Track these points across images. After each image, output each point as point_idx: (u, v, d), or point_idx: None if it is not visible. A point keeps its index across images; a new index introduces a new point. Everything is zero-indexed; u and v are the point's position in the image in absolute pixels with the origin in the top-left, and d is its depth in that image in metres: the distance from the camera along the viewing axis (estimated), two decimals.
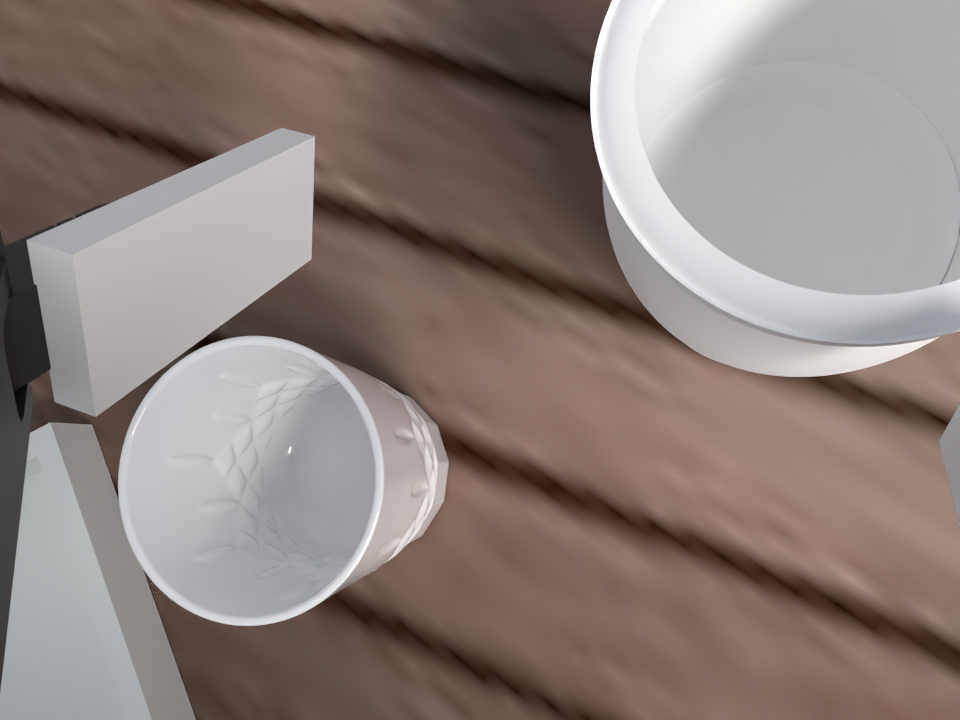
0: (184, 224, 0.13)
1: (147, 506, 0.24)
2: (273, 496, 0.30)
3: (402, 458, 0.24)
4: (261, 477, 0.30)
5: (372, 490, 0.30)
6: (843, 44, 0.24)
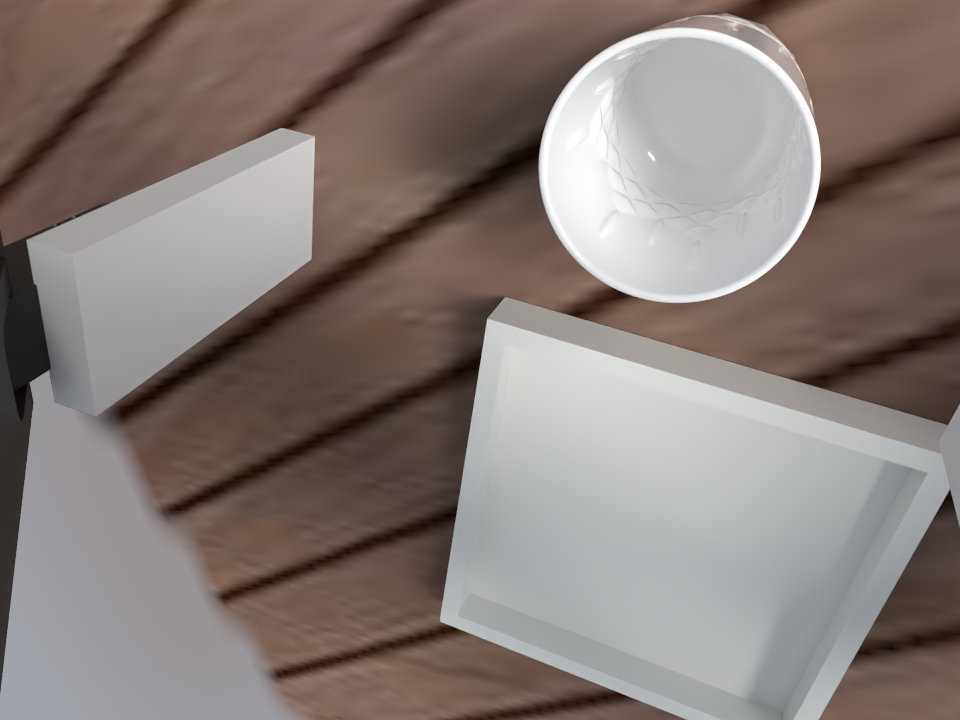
0: (184, 224, 0.13)
1: (625, 271, 0.26)
2: (673, 194, 0.31)
3: (755, 38, 0.23)
4: (652, 191, 0.31)
5: (735, 109, 0.29)
6: None
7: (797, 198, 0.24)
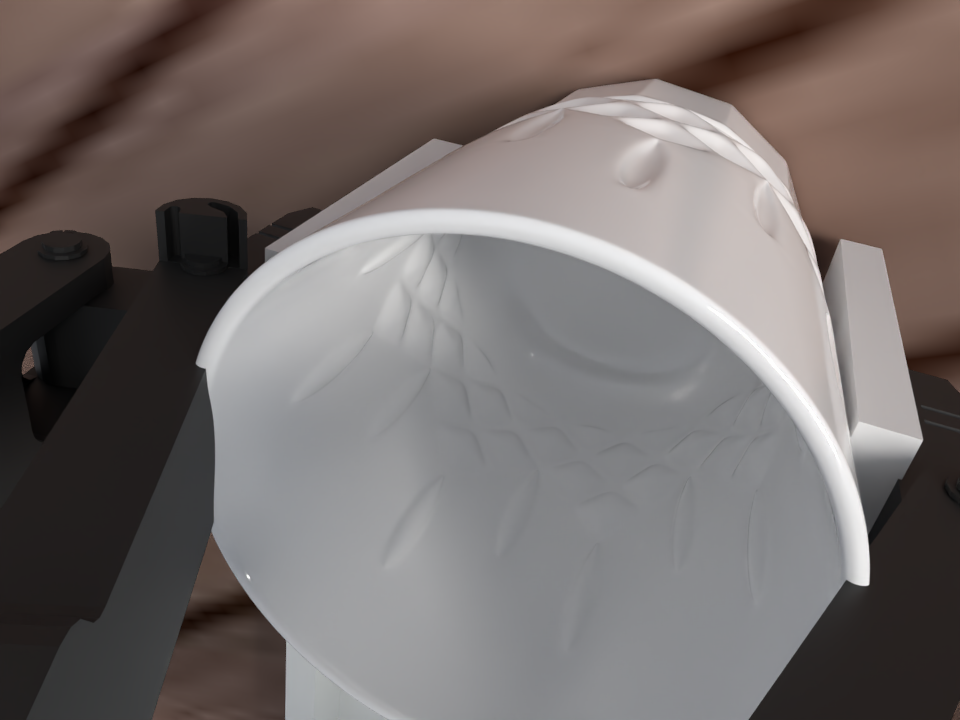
0: None
1: (426, 667, 0.12)
2: (568, 403, 0.17)
3: (692, 206, 0.09)
4: (528, 402, 0.17)
5: None
6: None
7: (800, 577, 0.10)
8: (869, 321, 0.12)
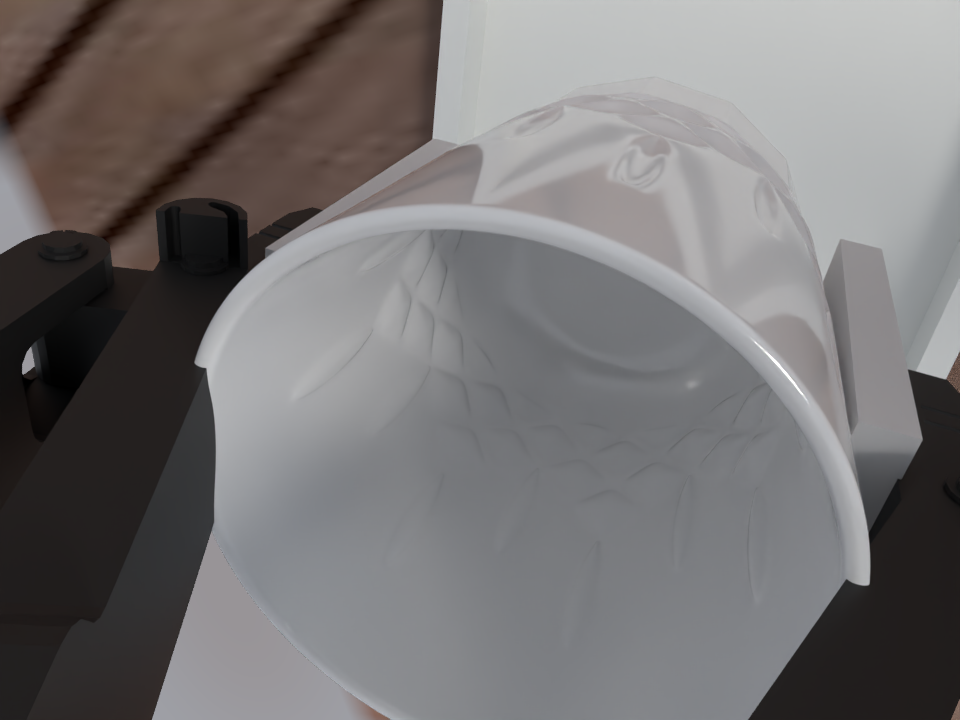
0: None
1: (426, 665, 0.12)
2: (568, 402, 0.17)
3: (692, 202, 0.09)
4: (528, 400, 0.17)
5: None
6: None
7: (800, 575, 0.10)
8: (869, 321, 0.12)
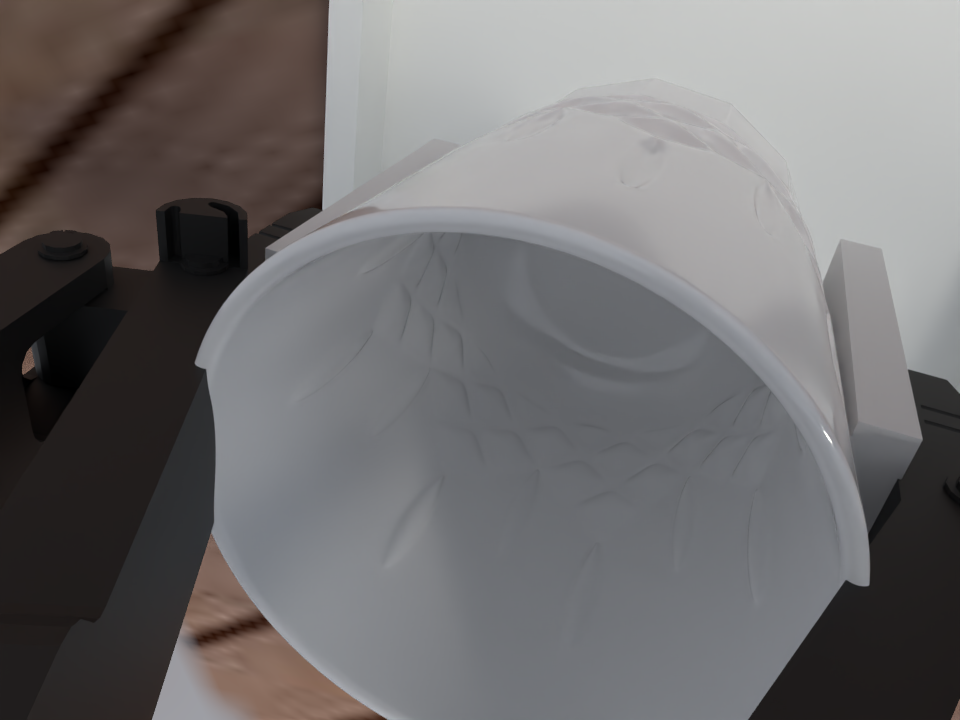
0: None
1: (426, 666, 0.12)
2: (568, 403, 0.17)
3: (692, 205, 0.09)
4: (527, 402, 0.17)
5: None
6: None
7: (800, 576, 0.10)
8: (869, 321, 0.12)
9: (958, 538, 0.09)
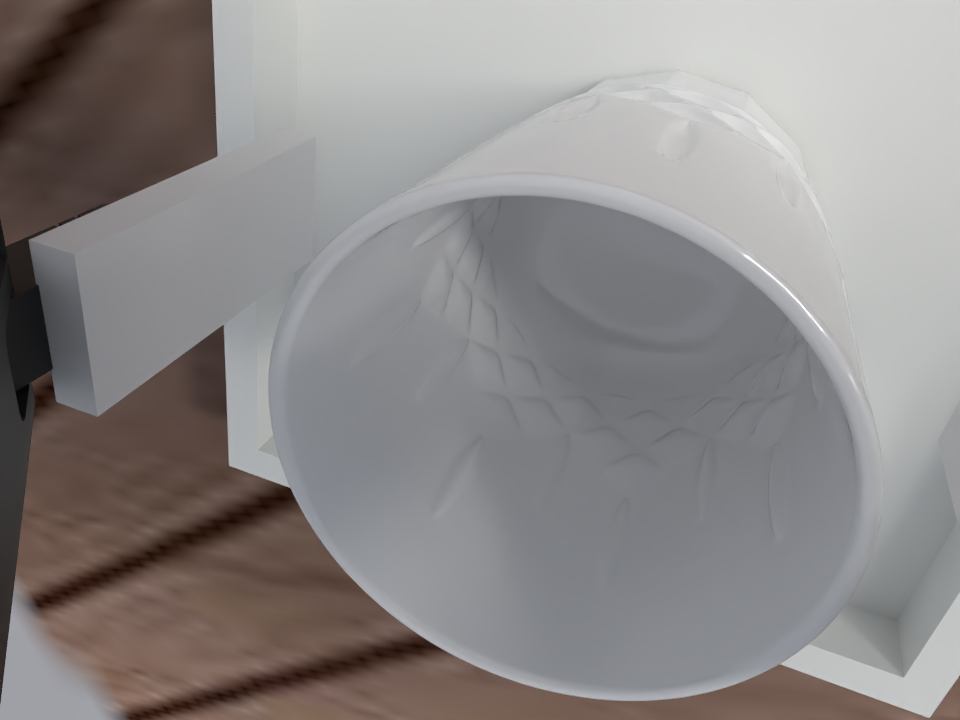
0: (186, 224, 0.13)
1: (475, 603, 0.13)
2: (594, 374, 0.18)
3: (725, 176, 0.10)
4: (557, 373, 0.18)
5: None
6: None
7: (819, 511, 0.11)
8: None
9: None
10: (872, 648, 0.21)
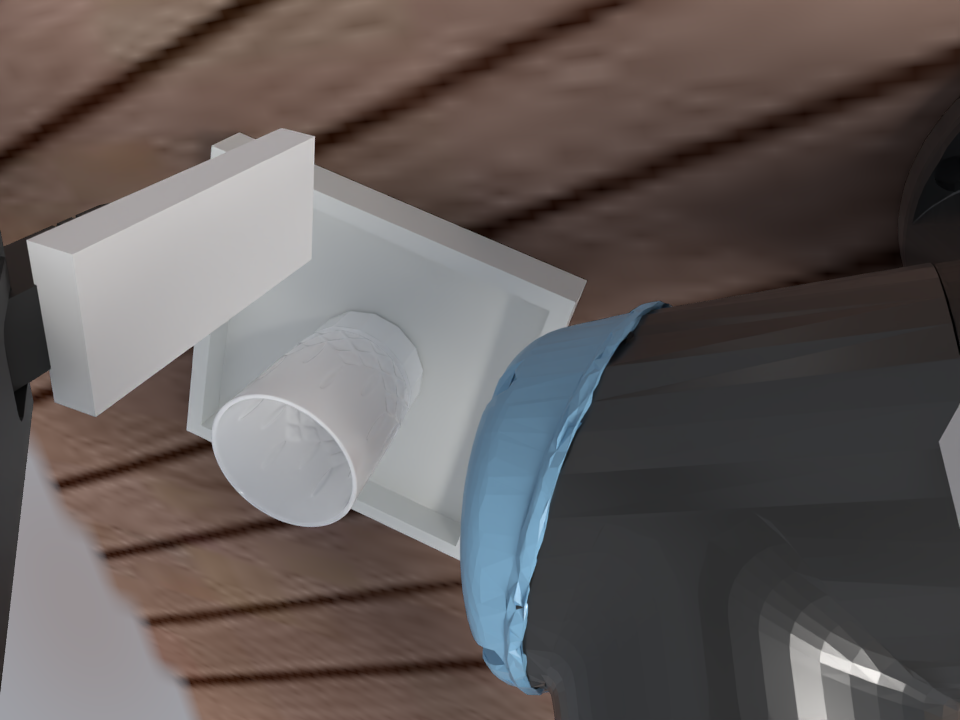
0: (184, 224, 0.13)
1: (270, 496, 0.42)
2: None
3: (336, 392, 0.39)
4: None
5: None
6: None
7: None
8: None
9: None
10: (449, 534, 0.51)
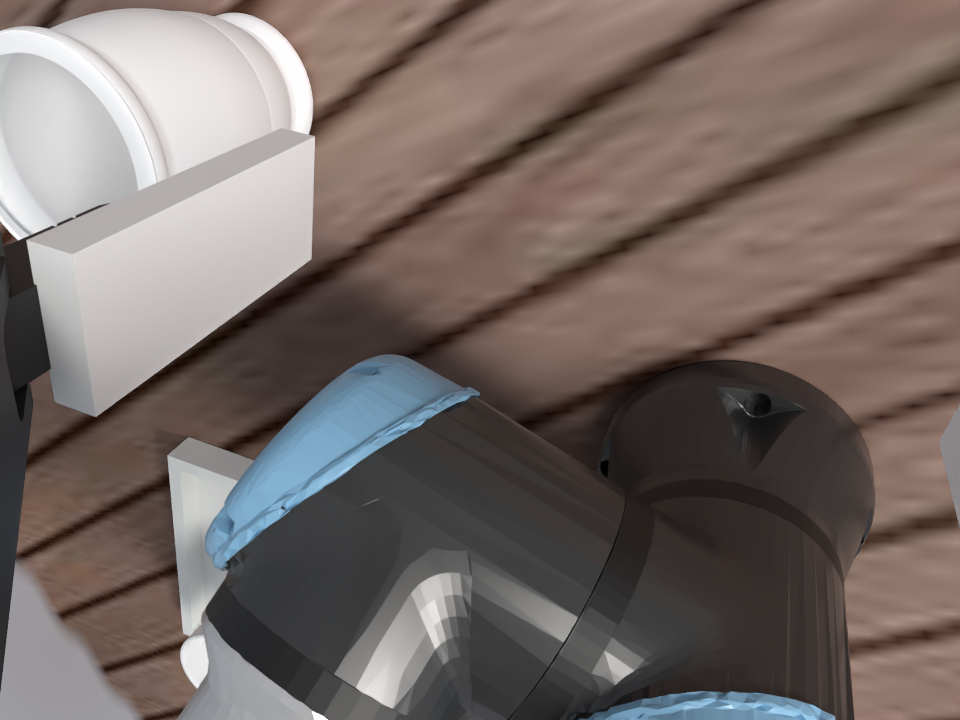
0: (184, 224, 0.13)
1: None
2: None
3: None
4: None
5: None
6: None
7: None
8: None
9: None
10: None
